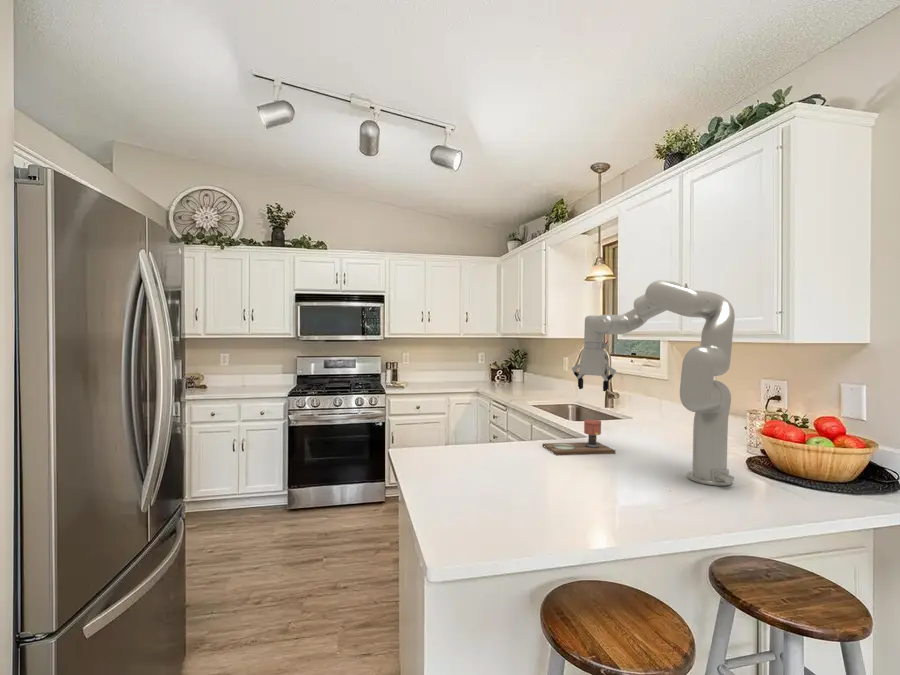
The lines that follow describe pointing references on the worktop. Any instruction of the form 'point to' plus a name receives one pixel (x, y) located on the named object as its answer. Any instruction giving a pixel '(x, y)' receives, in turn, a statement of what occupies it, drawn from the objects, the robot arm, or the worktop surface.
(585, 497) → the worktop surface
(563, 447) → the post board
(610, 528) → the worktop surface
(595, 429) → the cap
